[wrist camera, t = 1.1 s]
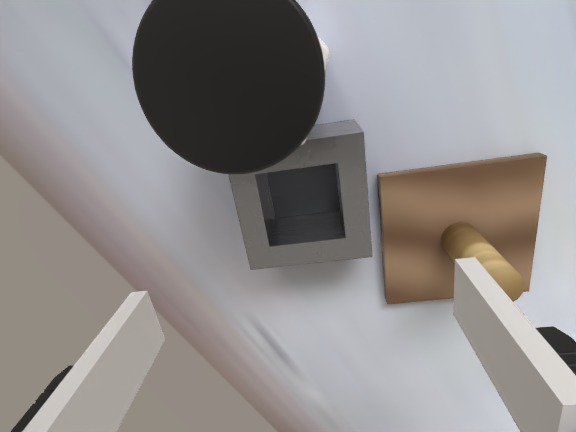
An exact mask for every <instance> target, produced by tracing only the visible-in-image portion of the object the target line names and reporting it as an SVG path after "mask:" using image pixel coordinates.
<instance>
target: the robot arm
mask: <svg viewBox="0 0 576 432" xmlns="http://www.w3.org/2000/svg"><path fill="white" fill-rule="evenodd" d="M453 315H454V316H455V318H456V320H457V322H458V323H459V325H460V327H461V329H462V330H463V332H464V334H465V336H466V337H467V339H468V341H469V343H470V344H471V346H472V348H473V350H474V351H475V353H476V355H477V357H478V358H479V360H480V362H481V364H482V365H483V367H484V369H485V371H486V372H487V374H488V376H489V378H490V379H491V381H492V383H493V385H494V386H495V388H496V390H497V392H498V393H499V395H500V397H501V399H502V400H503V402H504V404H505V406H506V407H507V409H508V411H509V413H510V414H511V416H512V418H513V420H514V421H515V423H516V425H517V427H518V428H519V430H520V432H576V342H575V341H574V340H573V339H572V338H571V337H570V336H568V335H566V334H565V333H563V332H561V331H560V330H558V329H557V328H555V327H541V328H535V327H534V326H533V325H532V324H531V322H530V321H529V320H528V319H527V318H526V317H525V315H524V314H523V313H522V312H521V311H520V309H519V308H518V307H517V306H516V305H515V304H514V302H513V301H512V300H511V299H510V298H509V297H508V295H507V294H506V293H505V292H504V291H503V290H502V288H501V287H500V286H499V285H498V284H497V282H496V281H495V280H494V279H493V278H492V277H491V275H490V274H489V273H488V272H487V271H486V270H485V268H484V267H483V266H482V265H481V264H480V263H479V261H478V260H477V259H476V258H475V257H472V258H462V259H455V276H454V311H453ZM164 341H165V337H164V334H163V331H162V329H161V326H160V324H159V321H158V318H157V316H156V313H155V310H154V307H153V304H152V302H151V299H150V296H149V294H148V291H140V292H131V293H130V295H129V296H128V297H127V299H126V300H125V301H124V302H123V304H122V305H121V306H120V307H119V309H118V310H117V311H116V313H115V314H114V315H113V316H112V318H111V319H110V320H109V321H108V323H107V324H106V325H105V327H104V328H103V330H102V331H101V332H100V333H99V334H98V336H97V337H96V338H95V340H94V341H93V342H92V343H91V345H90V346H89V347H88V348H87V350H86V351H85V352H84V353H83V355H82V356H81V357H80V359H79V360H78V361H77V362H76V364H75V365H74V366H68V367H67V368H66V369H65V370H63V371H62V372H61V373H60V374H58V375H57V376H56V377H55V378H54V379H53V380H52V381H51V383H50V384H49V385H48V386H47V388H46V389H45V391H44V393H42V394H41V395H40V396H39V398H38V399H37V400H36V403H35V404H33V405H32V406H31V407H30V409H29V410H28V411H27V412H26V413H25V415H24V416H23V417H22V419H21V420H20V421H19V422H18V423H17V425H16V426H15V427H14V428H13V429H12V431H11V432H117V430H118V428H119V426H120V424H121V422H122V420H123V418H124V417H125V415H126V413H127V411H128V409H129V407H130V405H131V403H132V401H133V399H134V398H135V395H136V394H137V392H138V390H139V388H140V386H141V384H142V382H143V381H144V379H145V377H146V375H147V373H148V371H149V369H150V367H151V365H152V363H153V361H154V360H155V358H156V356H157V354H158V352H159V350H160V348H161V346H162V344H163V342H164Z"/></svg>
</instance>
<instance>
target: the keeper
mask: <svg viewBox="0 0 576 432" xmlns="http://www.w3.org/2000/svg"><path fill="white" fill-rule="evenodd" d="M546 160H547V156H546V155H543V154H541V153H533V154H525V155H518V156H510V157H503V158H495V159H487V160H480V161H472V162H465V163H457V164H450V165H442V166H434V167H427V168H419V169H412V170H404V171H396V172H389V173H381V174H378V185H379V202H380V219H381V236H382V253H383V270H384V287H385V299H386V302H387V304H394V303H405V302H416V301H427V300H438V299H449V298H454V276H455V259H462V258H472V257H475V258H476V259H477V260H478V261H479V263H480V264H481V265H482V266H483V267H484V268H485V270H486V271H487V272H488V273H489V274H490V275H491V277H492V278H493V279H494V280H495V281H496V282H497V284H498V285H499V286H500V287H501V288H502V290H503V291H504V292H505V293H506V294H507V295H508V297H509V298H510V299H511V300H512V301H513V302H514V301H515V300H516V299H518V298H519V297H520V295H521V294H522V292H526V291H529V286H530V278H531V271H532V264H533V256H534V249H535V241H536V234H537V226H538V219H539V212H540V204H541V197H542V189H543V182H544V174H545V167H546Z"/></svg>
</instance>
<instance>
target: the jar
mask: <svg viewBox="0 0 576 432" xmlns="http://www.w3.org/2000/svg"><path fill="white" fill-rule="evenodd" d="M329 55H330V50H329V48H328V47H327V46H326V44H325V43H324V42H323V41H322V40H321V39H320V38H319V37H318V36H317V34H316V32H315V29H314V27H313V25H312V23H311V21H310V19H309V18H308V16H307V15H306V13H305V12H304V10H303V9H302V8H301V6H300V5H299V4H298V3H297V1H296V0H153V1H152V2H151V4H150V5H149V7H148V8H147V10H146V11H145V13H144V15H143V17H142V19H141V22H140V24H139V27H138V30H137V33H136V37H135V41H134V47H133V57H132V70H133V79H134V85H135V90H136V93H137V97H138V100H139V103H140V105H141V108H142V110H143V112H144V114H145V116H146V118H147V120H148V122H149V123H150V125H151V127H152V128H153V129H154V131H155V132H156V134H157V135H158V136H159V137H160V138H161V140H162V141H163V142H164V143H165V144H166V145H167V146H168V147H169V148H170V149H172V150H173V151H174V152H175V153H176V154H178V155H179V156H180V157H182V158H183V159H185V160H187V161H188V162H190V163H192V164H194V165H196V166H198V167H201V168H203V169H206V170H209V171H213V172H217V173H223V174H248V173H253V172H258V171H261V170H264V169H267V168H269V167H272V166H274V165H276V164H277V163H279V162H281V161H282V160H284V159H285V158H287V157H288V156H289V155H291V154H292V153H293V152H294V151H295V150H296V149H297V148H298V147H299V146H300V145H303V144H304V143H305V142H306V139H307V136H308V135H309V133H310V131H311V130H312V128H313V126H314V124H315V122H316V120H317V117H318V115H319V112H320V109H321V105H322V101H323V96H324V89H325V70H326V66H327V62H328V59H329Z"/></svg>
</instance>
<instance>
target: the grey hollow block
mask: <svg viewBox="0 0 576 432" xmlns="http://www.w3.org/2000/svg"><path fill="white" fill-rule="evenodd" d="M334 163H335V167H336V176H337V185H338V195H339V204H340V211H332V212H324V213H316V214H307V215H299V216H291V217H283V218H275V213H274V208H273V202H272V197H271V192H270V186H269V181H268V176H267V173H268V172H276V171H283V170H290V169H298V168H305V167H312V166H320V165H327V164H334ZM229 178H230V183H231V187H232V191H233V196H234V200H235V204H236V209H237V213H238V217H239V221H240V226H241V230H242V234H243V239H244V243H245V247H246V252H247V256H248V260H249V264H250V269H251V270H252V269H262V268H271V267H281V266H290V265H300V264H309V263H319V262H328V261H337V260H347V259H356V258H366V257H372V244H371V230H370V216H369V202H368V188H367V174H366V161H365V147H364V133H363V131H362V129H361V128H360V127H359V125H358V124H357V123H356V121H355V120H354V119H353V120H347V121H340V122H333V123H327V124H320V125H314V126H313V128H312V130H311V131H310V133H309V135H308V136H307V139H306V142H305V143H304V144H303V145H300V146H299V147H298V148H297V149H296V150H295V151H294V152H293V153H292V154H291V155H289V156H288V157H287V158H285V159H284V160H282V161H281V162H279V163H277V164H276V165H274V166H272V167H269V168H267V169H264V170H261V171H258V172H253V173H248V174H229Z"/></svg>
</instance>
